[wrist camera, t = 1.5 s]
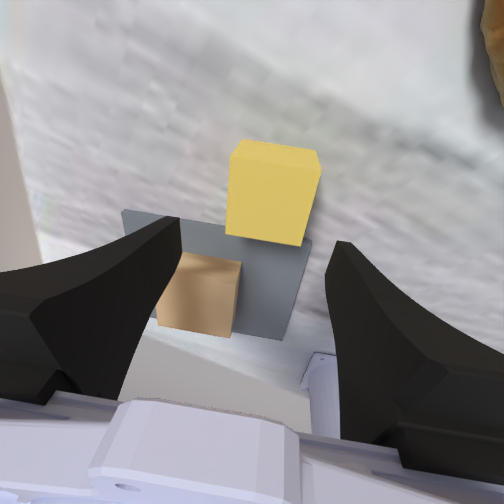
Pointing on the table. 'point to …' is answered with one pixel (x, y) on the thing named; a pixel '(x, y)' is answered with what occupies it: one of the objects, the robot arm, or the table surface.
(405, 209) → the table surface
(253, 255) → the board
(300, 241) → the yellow block
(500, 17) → the pastry
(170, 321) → the oak block
